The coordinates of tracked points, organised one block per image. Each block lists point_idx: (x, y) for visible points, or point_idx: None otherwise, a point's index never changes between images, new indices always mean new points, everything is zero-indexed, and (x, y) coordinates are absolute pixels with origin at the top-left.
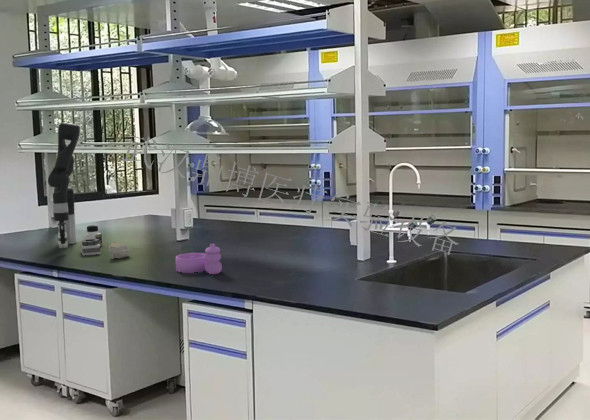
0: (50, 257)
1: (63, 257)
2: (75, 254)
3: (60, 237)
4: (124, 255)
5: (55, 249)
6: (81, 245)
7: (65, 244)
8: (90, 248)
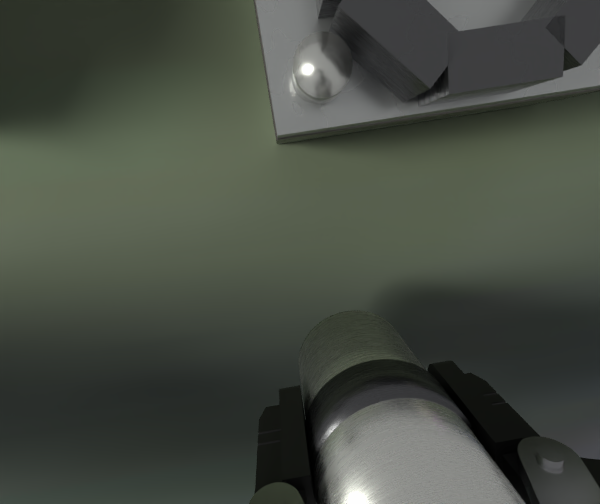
0: None
1: (520, 295)
2: (404, 197)
3: None
4: None
5: (12, 439)
6: (477, 105)
7: (407, 348)
8: None
